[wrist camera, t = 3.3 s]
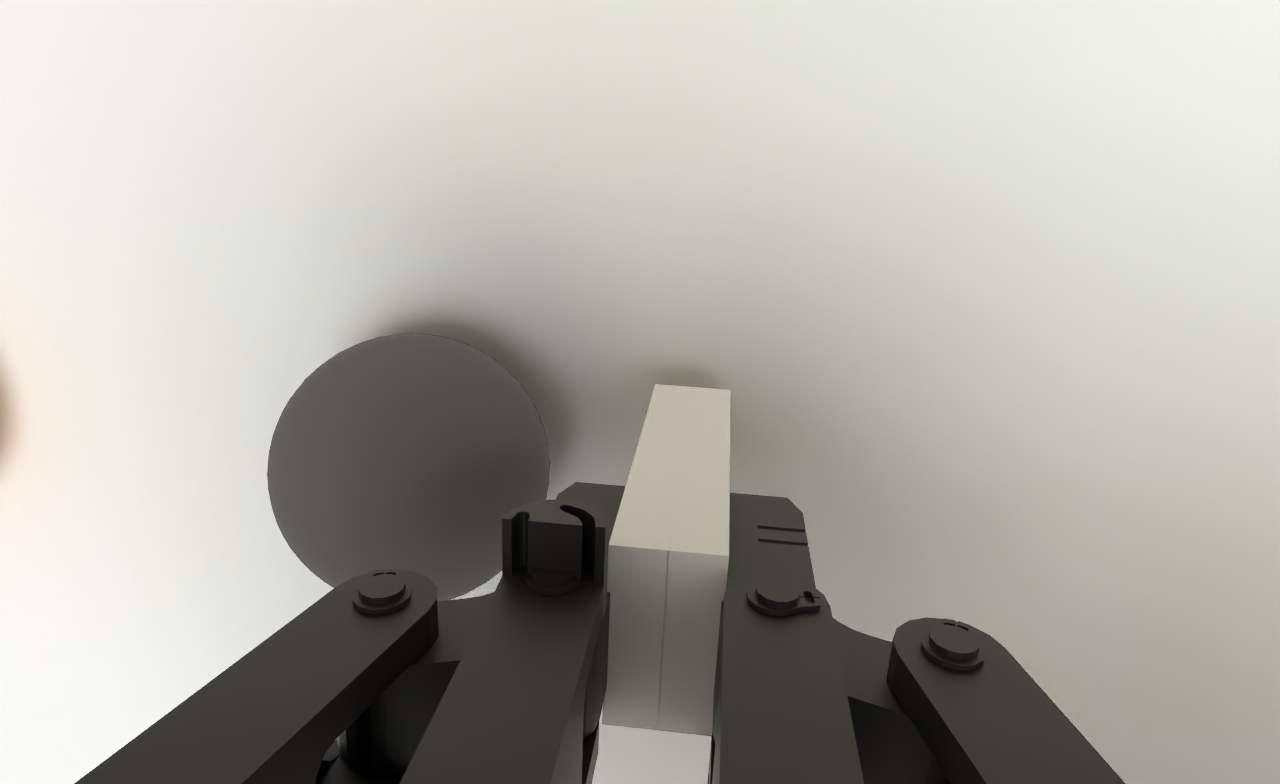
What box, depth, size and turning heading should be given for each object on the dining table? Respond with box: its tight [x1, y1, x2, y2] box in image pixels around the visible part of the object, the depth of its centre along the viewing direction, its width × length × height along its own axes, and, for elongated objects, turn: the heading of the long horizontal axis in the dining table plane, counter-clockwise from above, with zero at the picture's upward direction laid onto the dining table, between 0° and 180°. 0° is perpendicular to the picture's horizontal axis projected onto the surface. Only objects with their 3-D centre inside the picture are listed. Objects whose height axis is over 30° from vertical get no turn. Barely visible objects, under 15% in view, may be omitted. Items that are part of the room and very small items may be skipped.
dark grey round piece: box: [267, 334, 550, 601], centre depth 17 cm, size 6×6×6 cm
